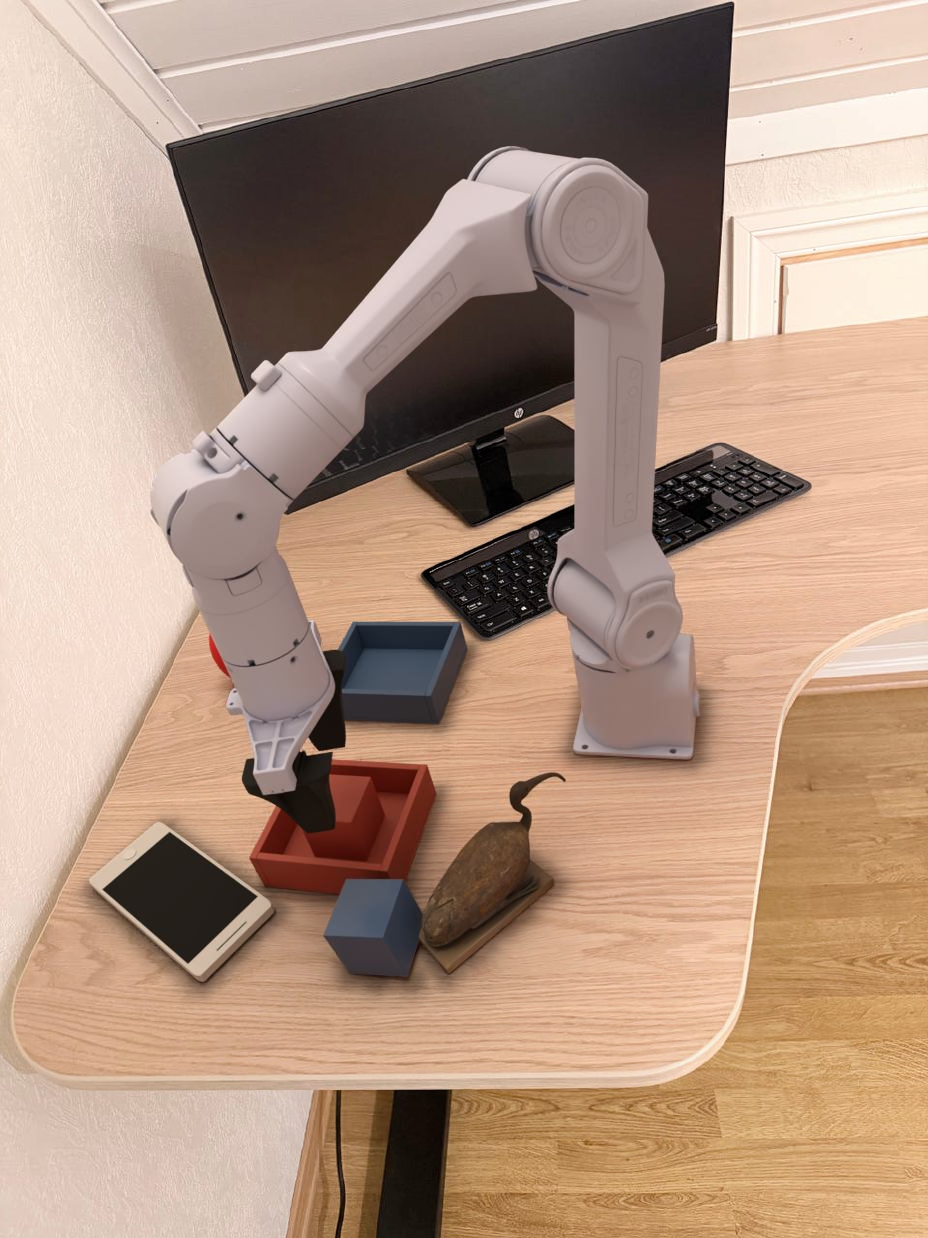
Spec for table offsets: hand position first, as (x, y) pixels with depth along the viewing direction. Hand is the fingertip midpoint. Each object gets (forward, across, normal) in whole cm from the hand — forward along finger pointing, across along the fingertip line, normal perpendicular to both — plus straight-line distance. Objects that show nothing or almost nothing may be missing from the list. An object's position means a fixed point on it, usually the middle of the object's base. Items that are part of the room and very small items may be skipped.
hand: (327, 785), depth 64 cm
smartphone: (+9, +1, -14) cm, 17 cm away
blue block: (+9, +8, +3) cm, 12 cm away
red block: (+9, -3, -1) cm, 9 cm away
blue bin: (+9, -21, +2) cm, 23 cm away
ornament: (+9, -25, -11) cm, 29 cm away
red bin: (+9, -3, -1) cm, 10 cm away
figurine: (+9, +4, +11) cm, 15 cm away
